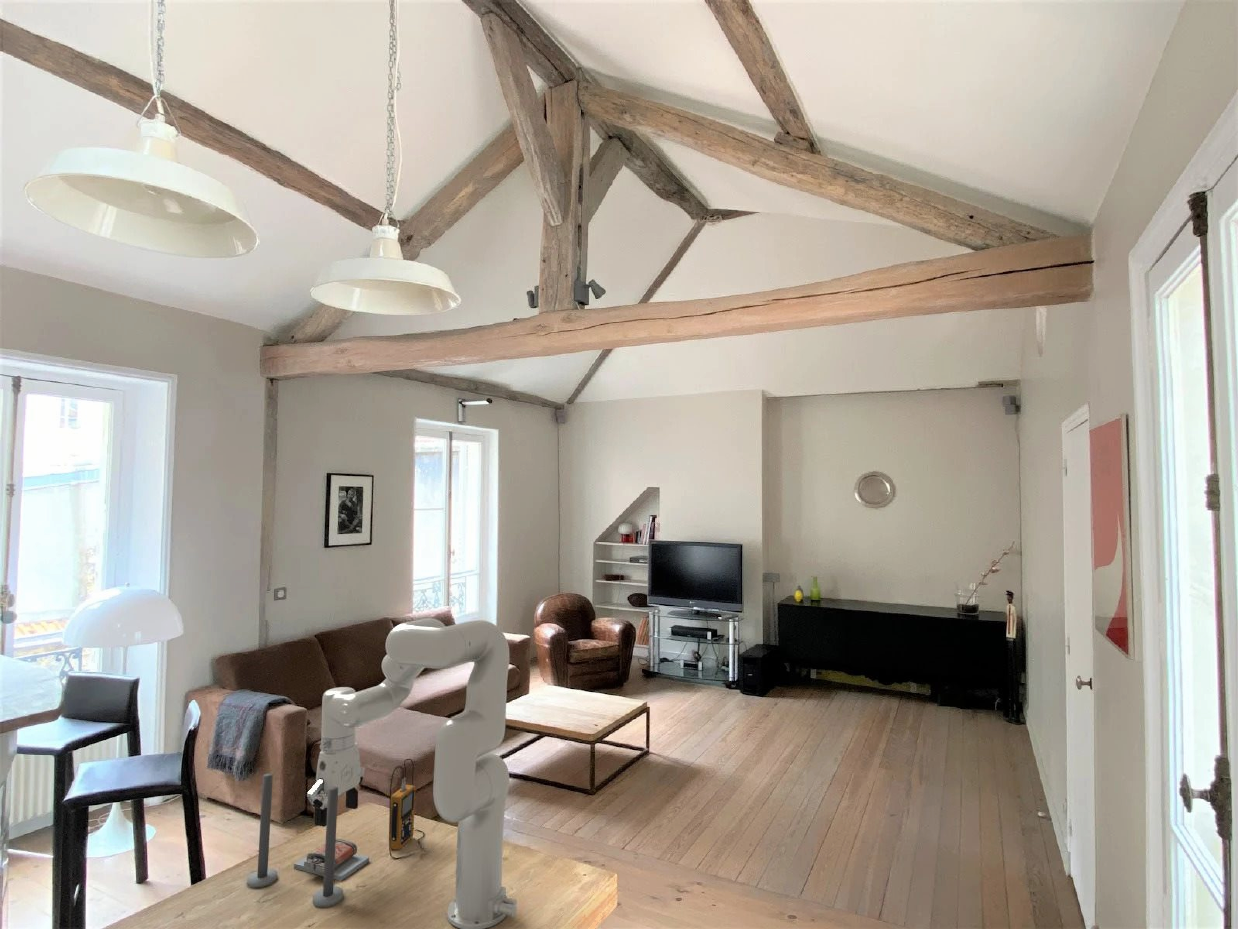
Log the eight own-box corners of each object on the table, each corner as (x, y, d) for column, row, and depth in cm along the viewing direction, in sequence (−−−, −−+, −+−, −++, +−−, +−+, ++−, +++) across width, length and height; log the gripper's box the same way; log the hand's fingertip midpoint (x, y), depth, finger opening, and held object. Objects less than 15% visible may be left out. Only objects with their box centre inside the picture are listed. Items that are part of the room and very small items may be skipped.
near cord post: (349, 894, 143) (354, 785, 145) (328, 910, 138) (333, 796, 139) (327, 888, 145) (332, 781, 147) (306, 903, 140) (311, 792, 142)
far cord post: (283, 876, 150) (288, 772, 152) (260, 890, 144) (266, 782, 146) (263, 871, 152) (269, 768, 154) (240, 884, 146) (246, 778, 148)
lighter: (329, 850, 160) (297, 871, 150) (330, 836, 160) (298, 856, 150) (356, 857, 157) (326, 879, 148) (357, 843, 157) (327, 863, 148)
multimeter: (418, 863, 157) (421, 776, 158) (380, 857, 159) (383, 772, 160) (446, 833, 171) (449, 754, 173) (411, 829, 173) (414, 751, 175)
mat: (369, 861, 157) (369, 857, 157) (341, 881, 149) (341, 876, 149) (323, 850, 162) (323, 846, 162) (293, 868, 153) (294, 863, 154)
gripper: (322, 755, 148) (320, 835, 146) (376, 732, 164) (374, 804, 162) (297, 752, 150) (295, 830, 149) (352, 729, 167) (350, 800, 165)
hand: (336, 816), depth 156 cm, fingers open, 9 cm apart
